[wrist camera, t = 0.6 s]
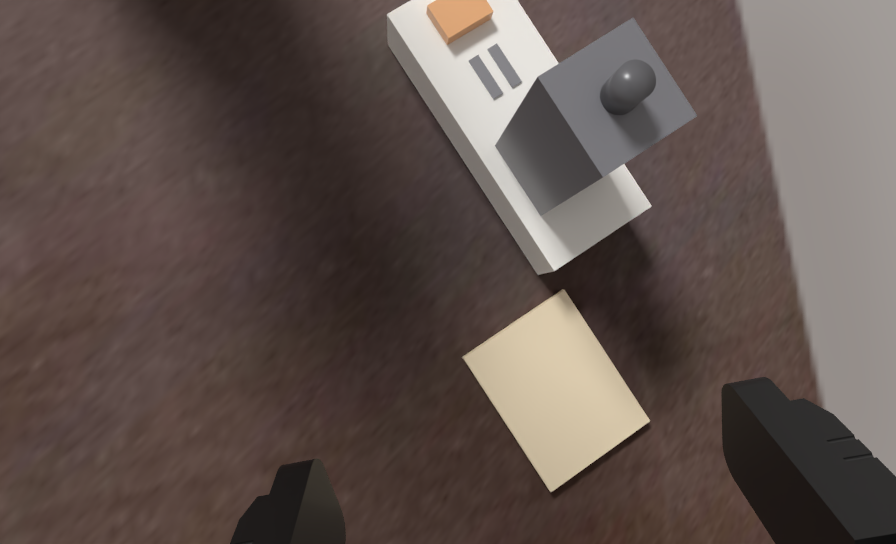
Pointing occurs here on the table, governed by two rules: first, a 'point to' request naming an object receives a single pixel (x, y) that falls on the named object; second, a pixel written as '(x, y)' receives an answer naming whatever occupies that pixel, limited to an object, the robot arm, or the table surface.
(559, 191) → the charger
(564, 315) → the cork pad
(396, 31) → the power strip
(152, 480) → the table surface
